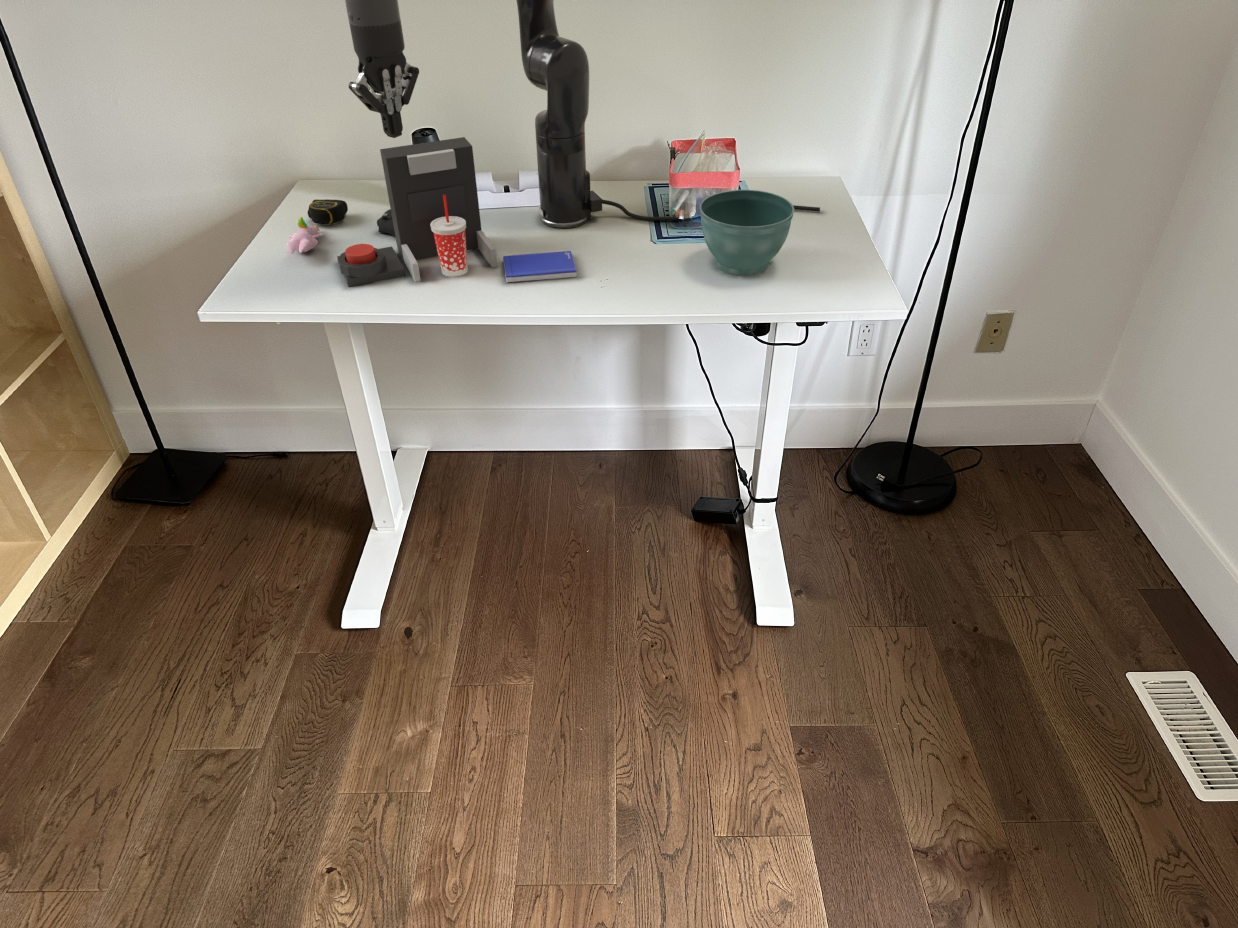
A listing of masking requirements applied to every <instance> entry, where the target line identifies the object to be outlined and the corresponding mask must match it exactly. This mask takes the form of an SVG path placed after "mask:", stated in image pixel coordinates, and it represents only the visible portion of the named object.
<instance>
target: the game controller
mask: <svg viewBox="0 0 1238 928" xmlns="http://www.w3.org/2000/svg"><path fill="white" fill-rule="evenodd" d="M376 225H377V227H378V231H377V232H378V233H380V234H382V235H383V234H389V235H392V236H393V237H396V236H395V231H394V225H393V220H392V214H391V208H389V209H388V210H387V209H386V211H385V212H384V213H383V214H382V215H381V216H380V217H379V218H378V219H377V220H376Z"/></svg>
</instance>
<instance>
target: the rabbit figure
mask: <svg viewBox="0 0 1238 928" xmlns="http://www.w3.org/2000/svg"><path fill="white" fill-rule="evenodd" d="M297 226H298V231H297V232H295V233H294V234H289V236H288V237H289V238H291V239H289V241H288V242H287V243H286V248H287V250H288V252H289V253H290V254H291V255H293V254H294V253H295V252H299V254H302V253H307V252H310V250H312V249H313V248H315V247H316V246H318V244H319V242H318V240H317V238H320V237H322V236H324V232H320V229H319V226H318V224H316V223H315V224H314V226H313V225H308V224H307V222H306V221H305V220H304V218H303V216H300V217H299V218H298V222H297Z"/></svg>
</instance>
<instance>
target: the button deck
mask: <svg viewBox="0 0 1238 928" xmlns="http://www.w3.org/2000/svg"><path fill="white" fill-rule="evenodd" d="M374 249H375V254H376V259H375V260H373V261H371V262H369V263H365V264H350V263H348V262H347V259H346V254H345V251H344V252H342V253H341V254H340V255H337V256H336V260H337V264H338V268H339V271H340V274H341V275H343V278H344V280H345V282H346V285H347V287H348V288H351V287H352V288H353V287H357V286H363V285H367V284H372V283H378V282H384V281H387V280H388V281H389V280H393V279H399V278H403V277H405V278H406V271H405V267H404V266H403V263H402V262H401V259H399V257H398V254H397V253H396V251H395V249H394V247H393V246H386V247H381V248H376V247H374Z"/></svg>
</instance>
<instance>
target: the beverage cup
mask: <svg viewBox="0 0 1238 928" xmlns="http://www.w3.org/2000/svg"><path fill="white" fill-rule="evenodd" d="M443 200H444V207H445V214H446V217H441V218H437V219H435V220H433V221H432V222H431V224H430V226H431V230H432V232H433V233H434V238H435V242H436V247H437V252H438V256H437V257H438V260H439V265H440V271H441V273H442V275H443V276H446V277H453V278H455V277H460V276H463V275H465V274H467V273H468V269H469V268H468V251H466V236H465V228H466V221H465V220H464V219H463V218H461V217H457V216H448V208H447V201H446V195H445V194H444V195H443Z"/></svg>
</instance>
